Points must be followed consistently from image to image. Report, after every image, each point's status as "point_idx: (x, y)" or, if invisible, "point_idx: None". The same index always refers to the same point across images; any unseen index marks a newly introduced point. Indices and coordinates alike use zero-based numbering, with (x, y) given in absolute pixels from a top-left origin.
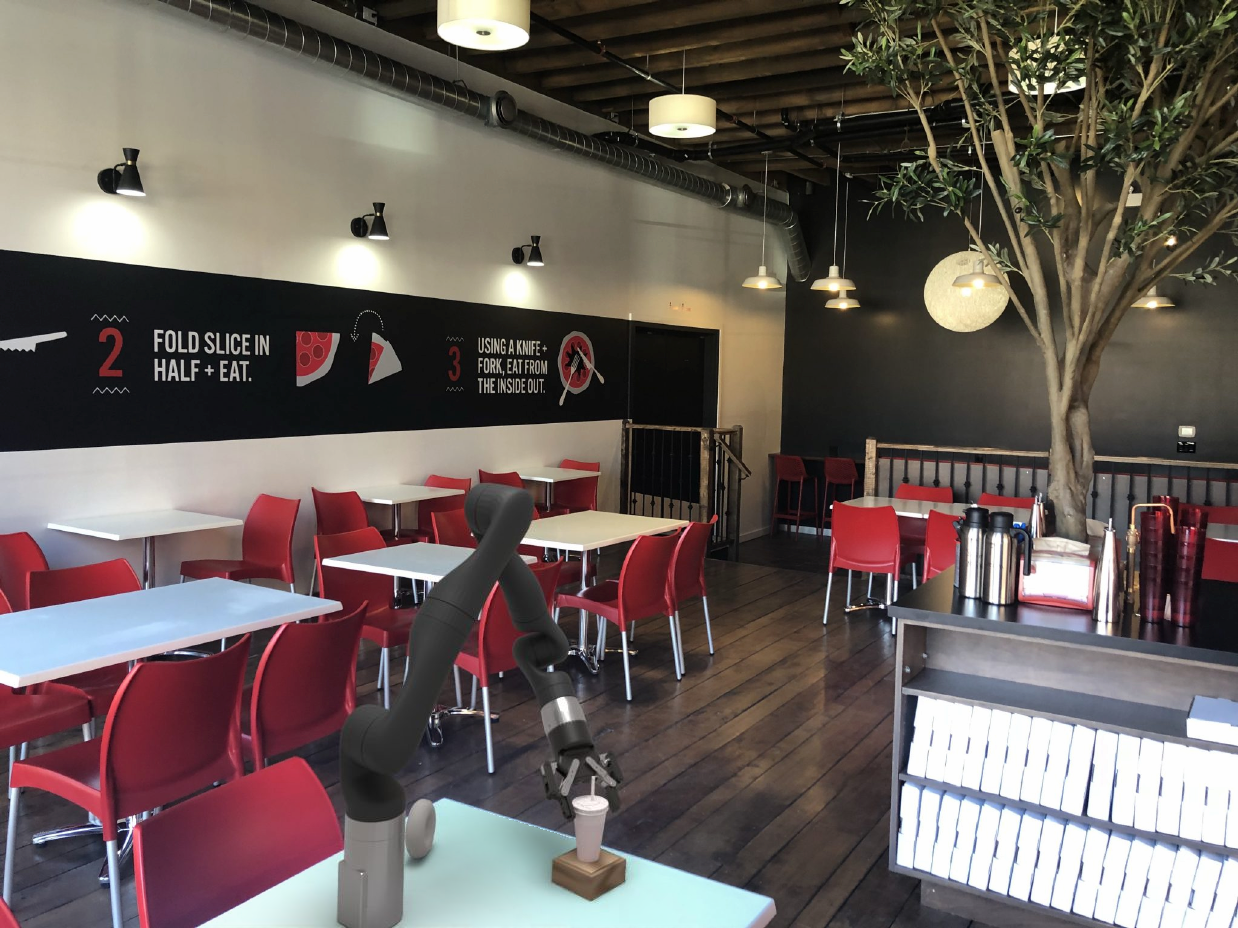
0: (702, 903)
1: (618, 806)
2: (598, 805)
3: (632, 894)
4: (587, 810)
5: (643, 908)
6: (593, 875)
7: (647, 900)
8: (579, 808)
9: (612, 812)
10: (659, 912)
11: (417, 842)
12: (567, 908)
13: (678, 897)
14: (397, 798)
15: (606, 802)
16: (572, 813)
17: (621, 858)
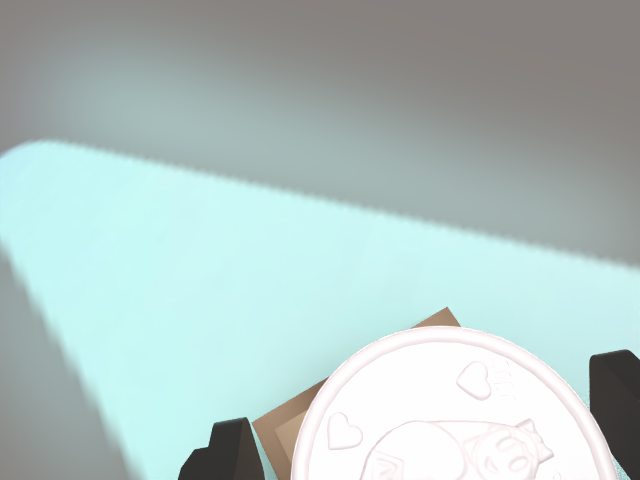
0: (106, 230)
1: (224, 424)
2: (393, 409)
3: (283, 333)
4: (506, 343)
5: (284, 245)
6: (435, 321)
7: (252, 285)
8: (569, 389)
9: (263, 477)
10: (248, 214)
11: None
12: (530, 305)
13: (152, 278)
14: None
15: (312, 442)
16: (629, 359)
17: (269, 432)
